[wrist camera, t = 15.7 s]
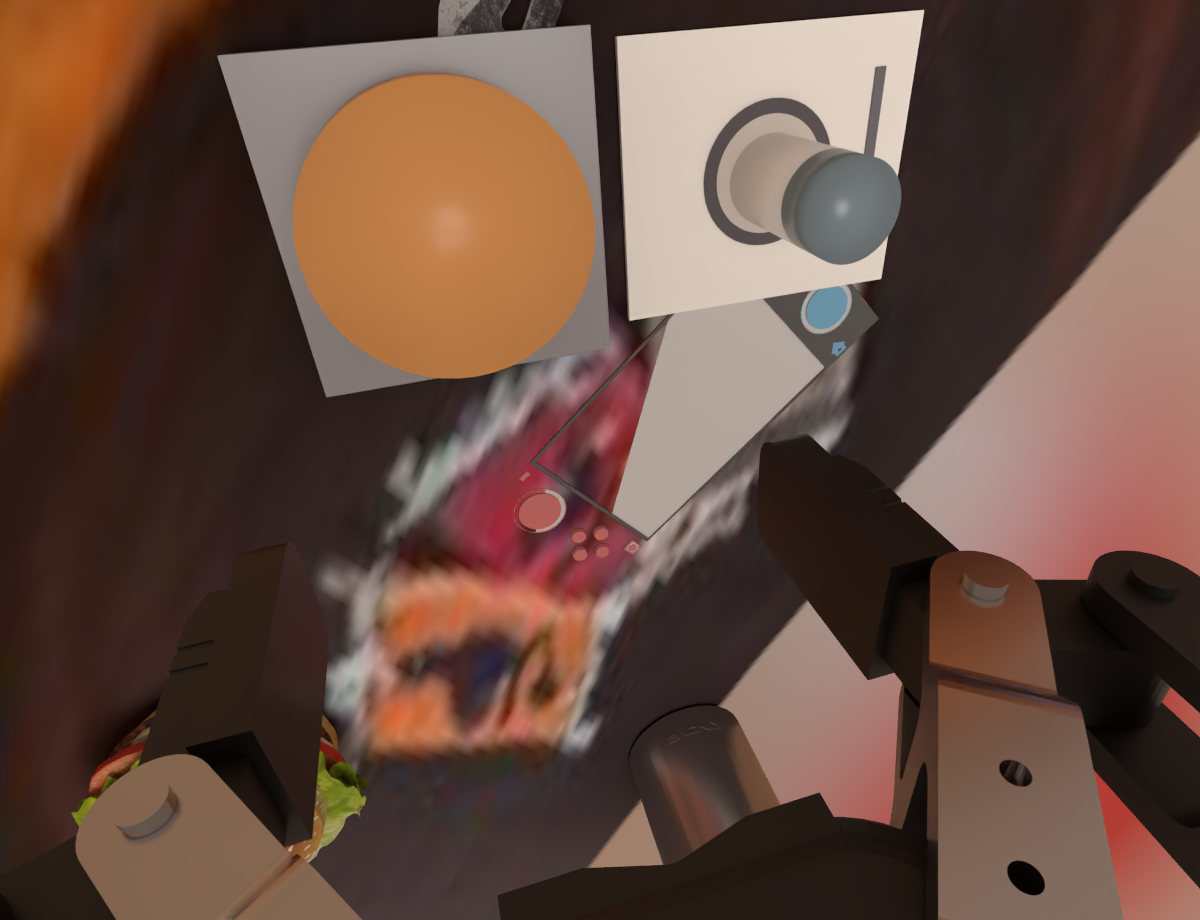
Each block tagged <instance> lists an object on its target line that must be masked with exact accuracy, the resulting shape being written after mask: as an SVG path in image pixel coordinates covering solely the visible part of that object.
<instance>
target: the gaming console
mask: <svg viewBox="0 0 1200 920" xmlns="http://www.w3.org/2000/svg"><path fill="white" fill-rule="evenodd" d="M878 319H879V318H878V317H877V316H876V314H875V313H874V312H873V311H872V309H871V308H870V307H869V306H868V304H867V303H866V302H865V300H864V299H863V298H862V297H861V295H860V294H859V293H858V291H857V290H856V289H855V288H854V286H853V285H852V284H848V285H842V286H836V287H830V288H824V289H817V290H811V291H805V292H799V293H793V294H787V295H781V296H775V297H769V298H763V299H757V300H751V301H745V302H739V303H733V304H727V305H721V306H715V307H709V308H703V309H697V310H691V311H685V312H679V313H673V314H669V315H668V316H667V317H666V318H665V319H664V320H663V321H662V322H661V323H660V324H659V325H658V326H657V328H656V329H655V330H654V331H653V332H652V333H651V334H650V335H649V336H648V337H647V338H646V339H645V340H644V341H643V342H642V344H641V345H640V346H639V347H638V348H637V349H636V350H635V351H634V352H633V353H632V354H631V355H630V356H629V357H628V358H627V360H626V361H625V362H624V363H623V364H622V365H621V366H620V367H619V368H618V369H617V370H616V371H615V372H614V373H613V374H612V375H611V377H610V378H609V379H608V380H607V381H606V382H605V383H604V384H603V385H602V386H601V387H600V388H599V389H598V390H597V391H596V392H595V394H594V395H593V396H592V397H591V398H590V399H589V400H588V401H587V402H586V403H585V404H584V405H583V406H582V407H581V408H580V410H579V411H578V412H577V413H576V414H575V415H574V416H573V417H572V418H571V419H570V420H569V421H568V422H567V423H566V424H565V425H564V427H563V428H562V429H561V430H560V431H559V432H558V433H557V434H556V435H555V436H554V437H553V438H552V439H551V440H550V441H549V443H548V444H547V445H546V446H545V447H544V448H543V449H542V450H541V451H540V452H539V453H538V454H537V455H536V456H535V457H534V458H533V460H532V461H531V462H530V463H531V464H532V465H534V466H535V467H537V468H538V469H540V470H541V471H543V472H544V473H546V474H547V475H549V476H550V477H552V478H553V479H555V480H556V481H557V482H559V483H560V484H562V485H563V486H565V487H566V488H568V489H569V490H571V491H572V492H574V493H575V494H577V495H578V496H580V497H581V498H583V499H584V500H586V501H587V502H589V503H590V504H592V505H593V506H595V507H596V508H598V509H599V510H601V511H602V512H604V513H605V514H607V515H608V516H610V517H611V518H613V519H614V520H616V521H617V522H619V523H620V524H622V525H623V526H625V527H626V528H628V529H629V530H631V531H632V532H634V533H635V534H637V535H638V536H640V537H641V538H643V539H644V540H646V541H648V540H649V539H650V538H651V537H652V536H653V535H654V534H655V533H656V532H657V531H658V530H659V529H660V528H661V527H662V526H663V525H664V524H665V523H666V522H668V521H669V520H670V519H671V518H672V517H673V516H674V515H675V514H676V513H677V512H678V511H679V510H680V509H681V508H682V507H683V506H684V505H685V504H686V503H687V502H688V501H689V500H690V499H691V498H692V497H693V496H694V495H695V494H696V493H697V492H699V491H701V490H702V489H703V488H704V487H705V486H706V485H707V484H708V483H709V482H710V481H711V480H712V479H714V478H715V477H716V476H717V475H718V474H719V473H720V472H721V471H722V470H723V469H724V468H725V467H726V466H727V465H728V464H729V463H730V462H731V461H732V460H733V459H734V458H735V457H736V456H737V455H738V454H739V453H740V452H741V451H742V450H744V449H745V448H746V447H747V446H748V445H749V444H750V443H751V442H752V441H753V440H754V439H755V438H756V437H757V436H758V435H759V434H760V433H761V432H762V431H763V430H764V429H765V428H766V427H767V426H768V425H769V424H770V423H771V422H772V421H774V420H775V419H776V418H777V417H778V416H779V415H780V414H781V413H782V412H783V411H784V410H785V409H786V408H787V407H788V406H789V405H790V404H791V403H792V402H793V401H794V400H795V399H796V398H797V397H798V396H799V395H800V394H801V393H802V392H803V391H805V390H806V389H807V388H808V387H809V386H810V385H811V384H812V383H813V382H814V381H815V380H816V379H817V378H818V377H819V376H820V375H821V374H822V373H823V372H824V371H825V370H826V369H827V368H828V367H829V366H830V365H831V364H832V363H833V362H835V361H836V360H837V359H838V358H839V357H840V356H841V355H842V354H843V353H844V352H845V351H846V350H847V349H848V348H849V347H850V346H851V345H852V344H853V343H854V342H855V341H856V340H857V339H858V338H859V337H860V336H861V335H862V334H863V333H865V332H866V331H867V330H868V329H869V328H870V327H871V326H872V325H873V324H874V323H875V322H876V321H877V320H878ZM667 321H668V323H667V327H666V330H665V334H664V337H663V340H662V344H661V347H660V351H659V354H658V358H657V361H656V365H655V368H654V371H653V375H652V378H651V382H650V385H649V389H648V392H647V396H646V399H645V402H644V406H643V409H642V413H641V416H640V420H639V423H638V427H637V430H636V433H635V437H634V440H633V444H632V447H631V451H630V454H629V457H628V461H627V464H626V468H625V471H624V475H623V478H622V482H621V485H620V488H619V492H618V495H617V499H616V502H615V506H614V509H613V512H612V513H611V512H609V511H608V510H606V509H605V508H603V507H602V506H600V505H599V504H597V503H596V502H594V501H593V500H591V499H590V498H589V497H587V496H586V495H584V494H583V493H581V492H580V491H578V490H577V489H575V488H574V487H572V486H571V485H569V484H568V483H566V482H565V481H563V480H562V479H560V478H559V477H557V476H556V475H554V474H553V473H551V472H550V471H548V470H547V469H545V468H544V467H542V466H541V465H539V464H538V463H537V462H535V461H536V460H537V459H538V458H539V457H540V456H541V455H542V454H543V453H544V452H545V451H546V450H547V449H548V448H549V447H550V445H551V444H552V443H553V442H554V441H555V440H556V439H557V438H558V437H559V436H560V435H561V434H562V433H563V432H564V431H565V430H566V428H567V427H568V426H569V425H570V424H571V423H572V422H573V421H574V420H575V419H576V418H577V417H578V416H579V415H580V414H581V413H582V412H583V410H584V409H585V408H586V407H587V406H588V405H589V404H590V403H591V402H592V401H593V400H594V399H595V398H596V397H597V396H598V395H599V393H600V392H601V391H602V390H603V389H604V388H605V387H606V386H607V385H608V384H609V383H610V382H611V381H612V380H613V379H614V378H615V377H616V375H617V374H618V373H619V372H620V371H621V370H622V369H623V368H624V367H625V366H626V365H627V364H628V363H629V362H630V361H631V360H632V358H633V357H634V356H635V355H636V354H637V353H638V352H639V351H640V350H641V349H642V348H643V347H644V346H645V345H646V344H647V343H648V342H649V340H650V339H651V338H652V337H653V336H654V335H655V334H656V333H657V332H658V331H659V330H660V329H661V328H662V327H663V326H664V325H665V323H666V322H667ZM529 475H530V473H529V472H527V471H526V472H525V473H524V475H523V476H522V477H521V478H520V480H522V481H524V480H525V479H526V478H527V477H528V476H529ZM537 490H541V489H537ZM534 491H535V490H534ZM531 492H532V491H531ZM529 493H530V492H529ZM527 494H528V493H527ZM525 495H526V494H525ZM525 495H524V496H525ZM524 496H523V497H524ZM521 498H522V497H521ZM521 498H520V499H521ZM519 501H520V500H519ZM519 501H518V502H519ZM518 502H517V503H518ZM516 505H517V504H516ZM515 507H516V506H515ZM514 511H515V508H514ZM565 513H566V503H565V500H564V499H563V497H562V496H561V495H560V494H559V493H557V492H555V491H553V490H550V489H545V493H538V494H534V495H532V496H530V497H528V498H527V499H526V500H524V502H523V503H522V504H521V506H520V508H519V518H520V521H521V522H522V524H524V525H525V526H526V527H528V528H531V529H536V532H532V533H541V532H545V531H548V530H551V529H552V528H554V527H556V526H557V525H558V524H559V523H560V522H561V521H562V519H563V518H564V516H565ZM514 519H515V518H514ZM515 522H516V521H515ZM517 525H518V524H517ZM518 526H519V525H518ZM519 527H520V526H519ZM520 528H521V527H520ZM521 529H522V528H521ZM523 530H524V529H523ZM525 531H526V530H525ZM527 532H530V531H527ZM593 535H594V537H595V538H596V539H598V540H604V539H605V538H607V536H608V528H607V527H606V526H604V525H599V526H597V527H595V528H594V530H593ZM570 537H571V539H572V540H573V541H574V542H575V543H581V542H583V541H584V540H585V538H586V532H585V530H584V529H582V528H577V529H574V530H573V531H572V532H571V534H570ZM640 547H641V545H640V544H638V543H637V542H635V541H634V540H631V541H630V542H629V543H628V544H627V545H626V546H625V547H624V548H623V549H624V550H625V551H627V552H628V553H630V554H632V555H633V554H634V553H635V552H636V551H637V550H638V549H639V548H640ZM594 552H595V554H596V555H597V556H598V557H600V558H603V557H606V556H607V555H608V554H609V546H608V545H607V544H606V543H600V544H598V545H597V546H596V547H595V549H594ZM572 556H573V557H574V559H575V560H577V561H582V560H584V559H585V558H586V557H587V549H586V548H585V547H583V546H578V547H576V548H574V549H573V551H572Z"/></svg>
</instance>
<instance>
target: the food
mask: <svg viewBox="0 0 1200 920" xmlns="http://www.w3.org/2000/svg"><path fill="white" fill-rule="evenodd" d="M155 713H156V711H154V712H153V713H152V714H151V715H150V716H149V717H147V718H146V719H145V720H144V721H143V722H142V723H141V724H139V725H138V726H137V727H136V728H135V729H134V730H133V731H131V732H130V733H129V734H128V735H127V736H126V737H125V738H123V739H122V740H121V741H120V742H119V744H118V745H117V746H116V748H115V749H114V750H113V752H112V753H111V754H110V756H109V757H108V758H107V760H106V761H105V762H103V763H101V764H100V765H99V766H98V768H97V769H96V771H95V773H94V774H93V776H92V778H91V783H90V788H89V793H88V798H86V799H84V800H82V801H80V802H79V803H78V804H79V806H78V810H79V811H78V812H75V813H72V815H73V817H74V819H75V821H76V822H77V824H78V826H79V827H80V825H81V823H82V821H83V819H84V817H85V815H86V814H87V812H88V811H89V809H90V808H91V806H92V805H93V804H94V802H95V801H96V800H97V799H98V798H99V797H100V795H101V794H102V793H103V792H104V791H106V790H107V789H108V788H109V787H110V786H111V785H112V784H113V783H114V782H116V781H117V780H118V779H119V778H121V777H122V776H124V775H125V774H127V773H128V772H130V771H131V770H133V769H135V768H137V767H138V764H139V761H140V758H141V755H142V752H143V749H144V746H145V743H146V740H147V737H148V734H149V731H150V728H151V725H152V722H153V719H154V716H155ZM367 783H368V780H367V779H366V778H365V777H363V776H360V775H356V771H355V770H354V768H353V767H352V766H351V764H347V763H345V761H344V758H343V757H342V756H341V755H340V754H339V753H338V738H337V735H336V731H335V729H334V727H333V726H332V725H331V724H330V723H329V721H328V720H327V719H326V718H325V716H324V715H323V718H322V730H321V741H320V753H319V765H318V777H317V788H316V800H315V812H314V824H313V835H312V839H311V840H307V841H304V842H300V843H297V844H293V845H290V846H286V847H285V849H286V850H287V851H288V852H289V853H290V854H291V855H292V856H293V857H294V856H295V855H296V854H298V855H300V856H301V857H302V858H304V859H305V860H306V861H307V862H310V861H311V860H312V859H313V858H314V857H316V856H317V853H318V851H319V849H320V848H321V847H322V846H327V845H328V844H329V843H330V842H332V841H333V840H334V839H335V838H336V836H337V835H338V833H339V832H340V830H341V829H342V828H343V826H344V822H345V819H346V817H348V816H349V815H351V814H353V813H357V814H358V815H359V816H360V810H361V809H362V807H363V806H364V805H365V801H366V797H365V796H362V797H361V795H360V793H359V792H358V790H360V791H361V790H365V788H366V786H367ZM357 789H358V790H357ZM360 818H361V816H360Z"/></svg>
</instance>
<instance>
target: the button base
mask: <svg viewBox="0 0 1200 920" xmlns="http://www.w3.org/2000/svg"><path fill="white" fill-rule="evenodd" d="M218 59H219V62H220V66H221V69H222V72H223V75H224V78H225V81H226V84H227V87H228V91H229V94H230V97H231V100H232V103H233V106H234V109H235V113H236V116H237V119H238V122H239V125H240V128H241V131H242V134H243V138H244V141H245V144H246V147H247V150H248V153H249V156H250V159H251V163H252V166H253V169H254V172H255V175H256V178H257V181H258V185H259V188H260V191H261V194H262V197H263V200H264V203H265V206H266V210H267V213H268V216H269V219H270V222H271V225H272V228H273V231H274V235H275V238H276V241H277V244H278V247H279V250H280V253H281V257H282V260H283V263H284V266H285V269H286V272H287V275H288V278H289V282H290V285H291V288H292V291H293V294H294V297H295V300H296V303H297V307H298V310H299V313H300V316H301V319H302V322H303V325H304V328H305V332H306V335H307V338H308V341H309V344H310V347H311V350H312V354H313V357H314V360H315V363H316V366H317V369H318V372H319V375H320V379H321V382H322V385H323V388H324V391H325V394H326V397H331V396H337V395H343V394H349V393H354V392H360V391H366V390H372V389H378V388H383V387H389V386H395V385H401V384H407V383H412V382H418V381H424V380H430V379H435V377H427V376H422V375H417V374H413V373H409V372H405V371H403V370H400V369H397V368H395V367H392V366H389V365H387V364H385V363H383V362H381V361H379V360H378V359H376V358H374V357H372V356H370V355H369V354H367V353H366V352H364V351H363V350H361V349H360V348H358V347H357V346H356V345H354V344H353V343H352V342H351V341H350V340H349V339H347V338H346V337H345V336H344V335H343V334H342V333H341V332H340V331H339V330H338V329H337V328H336V327H335V326H334V325H333V324H332V322H331V321H330V320H329V319H328V318H327V317H326V315H325V314H324V312H323V311H322V309H321V308H320V307H319V305H318V304H317V302H316V301H315V299H314V297H313V295H312V293H311V291H310V289H309V288H308V286H307V284H306V281H305V278H304V276H303V273H302V271H301V268H300V265H299V261H298V257H297V253H296V249H295V244H294V233H293V202H294V197H295V192H296V186H297V181H298V178H299V175H300V172H301V170H302V167H303V164H304V161H305V159H306V157H307V155H308V153H309V151H310V150H311V148H312V146H313V144H314V142H315V140H316V138H317V137H318V135H319V134H320V132H321V131H322V129H323V128H324V127H325V125H326V124H327V123H328V121H329V120H330V119H331V117H332V116H333V115H334V114H335V113H336V112H337V111H338V110H339V109H341V108H342V107H343V106H344V105H345V104H346V103H347V102H348V101H350V100H351V99H353V98H354V97H355V96H357V95H358V94H359V93H361V92H362V91H364V90H366V89H368V88H370V87H372V86H374V85H376V84H378V83H380V82H383V81H386V80H389V79H392V78H395V77H398V76H403V75H409V74H415V73H434V72H441V73H449V74H457V75H463V76H466V77H470V78H473V79H477V80H481V81H483V82H485V83H488V84H490V85H492V86H495V87H497V88H499V89H501V90H503V91H505V92H507V93H509V94H510V95H512V96H514V97H515V98H517V99H519V100H520V101H522V102H524V103H525V104H527V105H528V106H529V107H531V108H532V109H533V110H534V111H535V112H537V113H538V114H539V115H540V116H542V117H543V118H544V119H545V120H546V121H547V122H548V123H549V124H550V125H551V126H552V127H553V128H554V130H555V131H556V132H557V133H558V134H559V135H560V137H561V138H562V139H563V141H564V142H565V143H566V145H567V146H568V148H569V149H570V150H571V152H572V154H573V156H574V158H575V159H576V161H577V163H578V165H579V167H580V169H581V171H582V174H583V176H584V179H585V181H586V184H587V186H588V190H589V194H590V198H591V202H592V206H593V214H594V221H595V247H594V255H593V263H592V267H591V271H590V275H589V279H588V281H587V284H586V287H585V289H584V292H583V295H582V297H581V299H580V300H579V302H578V304H577V306H576V308H575V310H574V312H573V313H572V314H571V316H570V317H569V319H568V320H567V321H566V323H565V324H564V326H563V327H562V328H561V329H560V330H559V331H558V332H557V333H556V334H555V336H554V337H553V338H552V339H551V340H549V341H548V342H547V343H546V344H545V345H544V346H543V347H541V348H540V349H539V350H537V351H536V352H534V353H533V354H531V355H530V356H529V357H527V358H526V359H524V360H522V361H520V362H518V363H516V364H522V363H528V362H534V361H539V360H545V359H551V358H557V357H563V356H568V355H574V354H580V353H586V352H591V351H597V350H603V349H609V348H610V333H609V317H608V301H607V285H606V269H605V253H604V237H603V221H602V205H601V189H600V173H599V157H598V141H597V125H596V109H595V93H594V77H593V61H592V45H591V29H590V25H571V26H558V27H547V28H535V29H523V30H510V31H499V32H486V33H474V34H462V35H450V36H437V37H425V38H413V39H401V40H389V41H377V42H365V43H353V44H341V45H329V46H316V47H304V48H292V49H280V50H268V51H256V52H244V53H232V54H224V55H218ZM516 364H514V365H516Z"/></svg>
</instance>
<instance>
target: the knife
mask: <svg viewBox="0 0 1200 920" xmlns="http://www.w3.org/2000/svg"><path fill="white" fill-rule="evenodd" d="M510 1H511V0H440V5H439V18H438V36H450V35H462V34H474V33H486V32H499V31H505V30H504V29H503V27H502V23H501V19H502V15H503V14H504V12H505V10H506V8H507V6H508V4H509V3H510ZM563 1H564V0H531V1H530V4H529V7H528V10H527V13H526V17H525V20H524V23H523V26H522V28H521V30H523V29H535V28H547V27H555V25H556V22H557V19H558V16H559V13H560V10H561V7H562V4H563Z"/></svg>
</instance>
